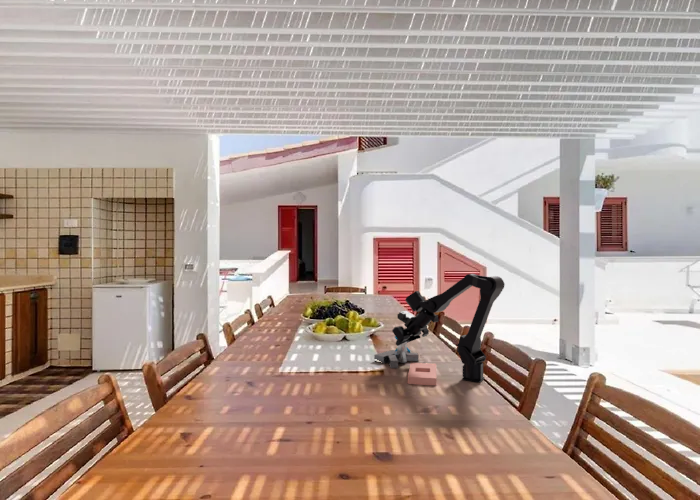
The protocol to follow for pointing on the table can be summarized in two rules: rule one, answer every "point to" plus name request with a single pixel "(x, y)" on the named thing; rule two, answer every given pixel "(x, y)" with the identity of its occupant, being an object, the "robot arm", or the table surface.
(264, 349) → the table surface
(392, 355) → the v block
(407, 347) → the gear
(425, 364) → the beam plate
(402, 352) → the axle
